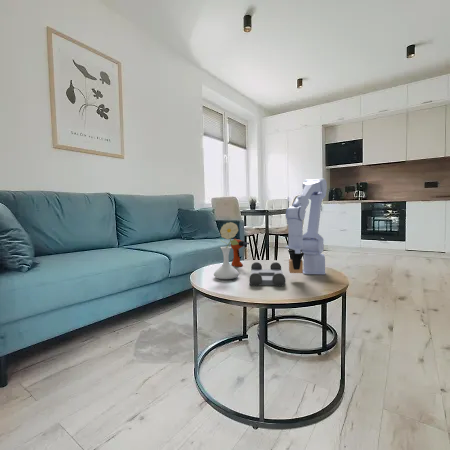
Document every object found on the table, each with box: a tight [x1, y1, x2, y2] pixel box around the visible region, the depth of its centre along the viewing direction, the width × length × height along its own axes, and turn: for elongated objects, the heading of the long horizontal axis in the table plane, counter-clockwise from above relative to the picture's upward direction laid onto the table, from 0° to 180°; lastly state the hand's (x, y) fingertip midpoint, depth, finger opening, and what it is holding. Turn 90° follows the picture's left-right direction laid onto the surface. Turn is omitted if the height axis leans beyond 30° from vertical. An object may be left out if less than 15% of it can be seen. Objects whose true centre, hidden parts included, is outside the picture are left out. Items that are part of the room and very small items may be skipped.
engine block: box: [288, 258, 304, 274], centre depth 115 cm, size 5×4×5 cm
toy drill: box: [230, 238, 250, 268], centre depth 145 cm, size 5×19×15 cm, turn 24°
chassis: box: [248, 261, 286, 287], centre depth 120 cm, size 14×24×5 cm, turn 173°
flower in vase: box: [213, 221, 240, 280], centre depth 121 cm, size 13×11×25 cm
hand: (295, 268), depth 115 cm, fingers closed on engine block, 4 cm apart
